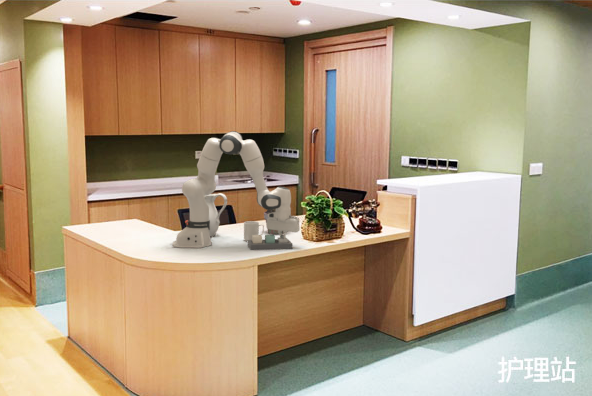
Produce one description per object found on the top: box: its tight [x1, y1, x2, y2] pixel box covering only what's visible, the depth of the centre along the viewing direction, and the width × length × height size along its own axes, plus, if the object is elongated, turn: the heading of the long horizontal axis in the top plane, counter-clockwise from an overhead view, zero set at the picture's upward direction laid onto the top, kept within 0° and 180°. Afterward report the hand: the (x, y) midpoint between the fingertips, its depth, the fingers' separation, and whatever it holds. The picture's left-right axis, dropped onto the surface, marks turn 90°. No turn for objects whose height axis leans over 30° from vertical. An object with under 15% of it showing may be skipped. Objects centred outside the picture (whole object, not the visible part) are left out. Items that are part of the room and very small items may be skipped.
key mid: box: [264, 234, 276, 243], centre depth 343 cm, size 5×5×4 cm
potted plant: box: [263, 209, 284, 235], centre depth 384 cm, size 18×20×25 cm
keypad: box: [247, 238, 293, 251], centre depth 344 cm, size 24×13×3 cm, turn 103°
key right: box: [277, 237, 289, 243], centre depth 345 cm, size 5×5×4 cm
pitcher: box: [204, 192, 228, 238], centre depth 368 cm, size 24×17×28 cm
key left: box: [252, 234, 263, 243], centre depth 341 cm, size 5×5×4 cm
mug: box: [243, 220, 265, 242], centre depth 359 cm, size 12×9×11 cm
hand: (282, 238), depth 345 cm, fingers closed, pressing on key right
